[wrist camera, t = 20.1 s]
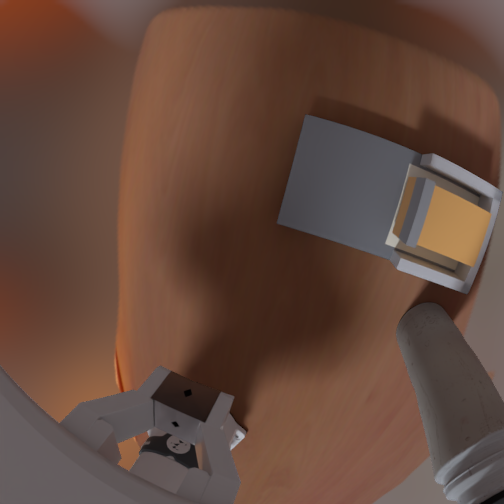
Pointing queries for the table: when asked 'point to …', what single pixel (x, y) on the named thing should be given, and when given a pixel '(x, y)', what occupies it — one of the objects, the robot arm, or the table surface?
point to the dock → (375, 197)
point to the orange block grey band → (441, 221)
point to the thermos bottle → (455, 406)
